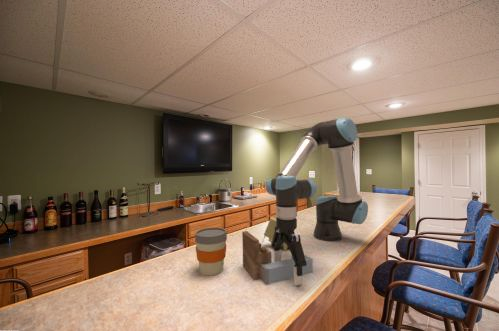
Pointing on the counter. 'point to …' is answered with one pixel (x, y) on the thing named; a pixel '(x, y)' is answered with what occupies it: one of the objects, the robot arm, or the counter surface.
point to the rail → (283, 270)
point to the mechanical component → (272, 231)
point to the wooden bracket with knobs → (254, 255)
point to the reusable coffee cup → (211, 250)
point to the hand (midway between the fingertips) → (287, 275)
